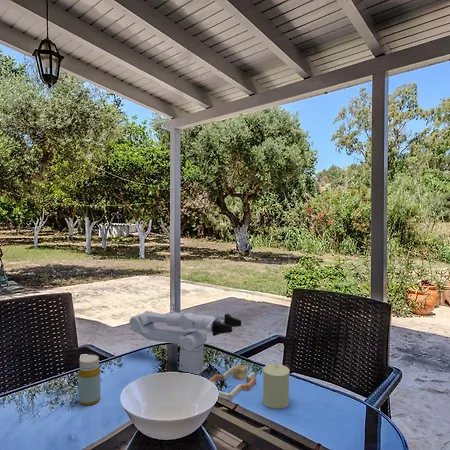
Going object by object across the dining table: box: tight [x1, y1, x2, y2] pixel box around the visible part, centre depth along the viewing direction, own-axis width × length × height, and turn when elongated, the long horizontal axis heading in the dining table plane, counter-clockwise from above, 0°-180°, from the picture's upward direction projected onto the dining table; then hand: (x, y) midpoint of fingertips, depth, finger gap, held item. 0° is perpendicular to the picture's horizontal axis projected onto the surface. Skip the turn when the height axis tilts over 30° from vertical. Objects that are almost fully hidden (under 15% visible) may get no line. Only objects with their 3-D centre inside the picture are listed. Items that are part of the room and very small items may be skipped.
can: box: [262, 363, 291, 410], centre depth 129 cm, size 9×9×12 cm
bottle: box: [78, 354, 101, 406], centre depth 128 cm, size 7×7×15 cm
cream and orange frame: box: [208, 366, 257, 401], centre depth 141 cm, size 15×20×2 cm
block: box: [232, 363, 248, 381], centre depth 147 cm, size 4×4×4 cm
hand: (236, 326), depth 143 cm, fingers open, 7 cm apart
